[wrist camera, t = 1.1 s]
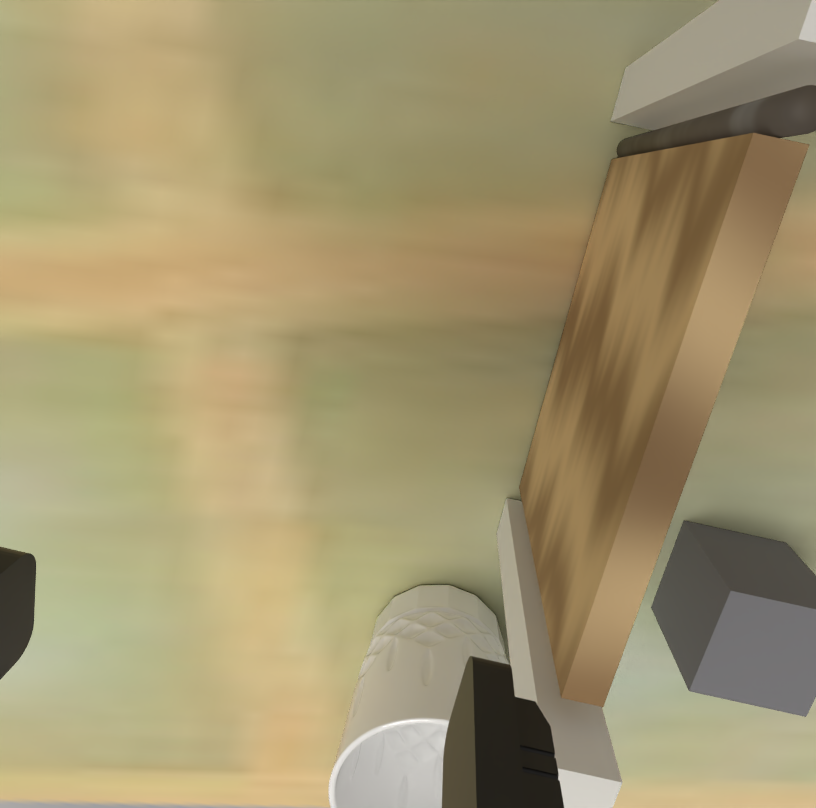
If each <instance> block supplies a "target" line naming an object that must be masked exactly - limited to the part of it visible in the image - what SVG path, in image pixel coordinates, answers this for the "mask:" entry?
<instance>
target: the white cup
mask: <svg viewBox="0 0 816 808" xmlns="http://www.w3.org/2000/svg"><path fill="white" fill-rule="evenodd" d="M470 656H474V657H478V658H483V659H487V660H492V661H496V662H500V663H505V664H509V662H508V659H507V658H506V654H505V647H504V641H503V638H502V634H501V631H500V628H499V625H498V621H497V618H496V615H495V614H494V613H493V612H492V611H491V610H490V609H489V608H488V607H487V606H486V605H485V604H484V603H483V602H482V601H481V600H480V599H479V598H478V597H477V596H476V595H474V594H471V593H469V592H466V591H463V590H461V589H458V588H456V587H453V586H451V585H419V586H417V587H415V588H413V589H410V590H408V591H406V592H404V593H402V594H399V595H397V596H395V597H394V598H393V599H392V600H391V601H390V602H389V604H388V605H387V606H386V607H385V609H384V610H383V611H382V612H381V614H380V615H379V616H378V617H377V620H376V624H375V628H374V632H373V636H372V640H371V643H370V647H369V649H368V651H367V653H366V656H365V658H364V660H363V664H362V667H361V670H360V673H359V677H358V680H357V682H356V686H355V689H354V693H353V697H352V700H351V704H350V708H349V711H348V715H347V719H346V723H345V726H344V730H343V734H342V737H341V741H340V745H339V748H338V752H337V755H336V759H335V762H334V766H333V769H332V773H331V777H330V782H329V802H330V807H331V808H442V783H443V755H444V746H445V739H446V733H447V728H448V724H449V720H450V717H451V713H452V710H453V707H454V703H455V700H456V697H457V693H458V690H459V687H460V683H461V680H462V676H463V673H464V670H465V666H466V663H467V661H468V658H469V657H470Z"/></svg>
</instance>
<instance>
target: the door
mask: <svg viewBox="0 0 816 808" xmlns="http://www.w3.org/2000/svg"><path fill="white" fill-rule="evenodd" d="M815 130H816V85H806V86H803V87H799V88H796V89H792V90H789V91H786V92H782V93H779V94H775V95H772V96H769V97H765V98H762V99H758V100H755V101H752V102H748V103H745V104H742V105H738V106H735V107H731V108H728V109H725V110H721V111H718V112H714V113H711V114H708V115H704V116H701V117H697V118H694V119H691V120H687V121H684V122H680V123H677V124H674V125H670V126H667V127H663V128H660V129H657V130H653V131H650V132H647V133H643V134H640V135H636V136H633V137H630V138H626V139H624V140H622V141H621V142H620V143H619V145H618V147H617V155H618V157H619V158H616V159H612V160H611V164H610V167H609V171H608V174H607V178H606V181H605V185H604V188H603V192H602V196H601V199H600V203H599V206H598V210H597V213H596V217H595V220H594V224H593V227H592V231H591V235H590V238H589V242H588V245H587V249H586V252H585V256H584V259H583V263H582V266H581V270H580V274H579V277H578V281H577V284H576V288H575V291H574V295H573V298H572V302H571V306H570V309H569V313H568V316H567V320H566V323H565V327H564V330H563V334H562V337H561V341H560V345H559V348H558V352H557V355H556V359H555V362H554V366H553V369H552V373H551V376H550V380H549V384H548V387H547V391H546V394H545V398H544V401H543V405H542V408H541V412H540V415H539V419H538V423H537V426H536V430H535V433H534V437H533V440H532V444H531V447H530V451H529V454H528V458H527V462H526V465H525V469H524V472H523V476H522V479H521V483H520V486H519V489H520V494H521V499H522V504H523V509H524V514H525V519H526V524H527V529H528V534H529V539H530V544H531V549H532V554H533V559H534V565H535V570H536V575H537V580H538V585H539V590H540V595H541V600H542V605H543V610H544V615H545V620H546V625H547V630H548V635H549V640H550V645H551V650H552V655H553V660H554V665H555V670H556V675H557V680H558V685H559V690H560V695H561V698H564V699H568V700H573V701H577V702H582V703H586V704H591V705H595V706H600V707H603V706H604V703H605V700H606V698H607V695H608V692H609V690H610V687H611V684H612V681H613V679H614V676H615V673H616V670H617V668H618V665H619V662H620V660H621V657H622V654H623V651H624V649H625V646H626V643H627V641H628V638H629V635H630V632H631V630H632V627H633V624H634V621H635V619H636V616H637V613H638V611H639V608H640V605H641V602H642V600H643V597H644V594H645V591H646V589H647V586H648V583H649V581H650V578H651V575H652V572H653V570H654V567H655V564H656V561H657V559H658V556H659V553H660V551H661V548H662V545H663V542H664V540H665V537H666V534H667V531H668V529H669V526H670V523H671V521H672V518H673V515H674V512H675V510H676V507H677V504H678V501H679V499H680V496H681V493H682V491H683V488H684V485H685V482H686V480H687V477H688V474H689V472H690V469H691V466H692V463H693V461H694V458H695V455H696V452H697V450H698V447H699V444H700V442H701V439H702V436H703V433H704V431H705V428H706V425H707V422H708V420H709V417H710V414H711V412H712V409H713V406H714V403H715V401H716V398H717V395H718V392H719V390H720V387H721V384H722V382H723V379H724V376H725V373H726V371H727V368H728V365H729V362H730V360H731V357H732V354H733V352H734V349H735V346H736V343H737V341H738V338H739V335H740V332H741V330H742V327H743V324H744V322H745V319H746V316H747V313H748V311H749V308H750V305H751V303H752V300H753V297H754V294H755V292H756V289H757V286H758V283H759V281H760V278H761V275H762V273H763V270H764V267H765V264H766V262H767V259H768V256H769V253H770V251H771V248H772V245H773V243H774V240H775V237H776V234H777V232H778V229H779V226H780V223H781V221H782V218H783V215H784V213H785V210H786V207H787V204H788V202H789V199H790V196H791V193H792V191H793V188H794V185H795V183H796V180H797V177H798V174H799V172H800V169H801V166H802V163H803V161H804V158H805V155H806V153H807V150H808V147H809V145H808V144H804V143H799V142H794V141H790V140H785V139H780V138H783V137H789V136H796V135H802V134H808V133H811V132H814V131H815Z"/></svg>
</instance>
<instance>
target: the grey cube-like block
mask: <svg viewBox="0 0 816 808" xmlns="http://www.w3.org/2000/svg"><path fill="white" fill-rule="evenodd" d="M651 608H652V610H653V613H654V615H655V617H656V619H657V621H658V624H659V626H660V628H661V630H662V632H663V635H664V637H665V639H666V641H667V643H668V646H669V648H670V650H671V652H672V654H673V657H674V659H675V661H676V663H677V665H678V668H679V670H680V672H681V674H682V676H683V679H684V681H685V683H686V685H687V688H688V690H689V691H691V692H696V693H700V694H705V695H709V696H714V697H718V698H723V699H728V700H732V701H737V702H741V703H746V704H750V705H755V706H759V707H764V708H768V709H773V710H777V711H782V712H786V713H791V714H796V715H800V716H805V717H806V716H807V714H808V712H809V710H810V708H811V706H812V704H813V702H814V699H815V697H816V575H815V574H814V573H813V572H812V571H811V570H810V569H809V568H808V566H807V565H806V564H805V563H804V562H803V561H802V560H801V559H800V558H799V557H798V555H797V554H796V553H795V552H794V551H793V550H792V549H791V548H790V547H789V546H788V545H787V543H785V542H780V541H776V540H771V539H766V538H762V537H757V536H753V535H748V534H744V533H739V532H734V531H730V530H725V529H721V528H716V527H712V526H707V525H702V524H698V523H693V522H689V521H683V524H682V526H681V529H680V532H679V534H678V537H677V540H676V542H675V545H674V548H673V550H672V553H671V556H670V558H669V561H668V564H667V566H666V569H665V572H664V574H663V577H662V580H661V582H660V585H659V588H658V590H657V593H656V596H655V599H654V601H653V604H652V607H651Z"/></svg>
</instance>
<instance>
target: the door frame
mask: <svg viewBox="0 0 816 808" xmlns="http://www.w3.org/2000/svg"><path fill="white" fill-rule="evenodd" d="M806 85H816V0H719V1H717V2H716V3H715V4H713V5H712V6H710V7H709V8H708V9H706V10H705V11H704V12H702V13H701V14H699V15H698V16H697V17H695V18H694V19H692V20H691V21H690V22H688V23H687V24H686V25H684V26H683V27H681V28H680V29H679V30H677V31H676V32H674V33H673V34H672V35H670V36H669V37H668V38H666V39H665V40H663V41H662V42H661V43H659V44H658V45H656V46H655V47H654V48H652V49H651V50H650V51H648V52H647V53H645V54H644V55H643V56H641V57H640V58H638V59H637V60H636V61H634V62H633V63H631V64H630V65H629V66H627V67H626V68H625V71H624V75H623V79H622V82H621V86H620V89H619V93H618V97H617V100H616V104H615V108H614V111H613V115H612V118H611V122H616V123H621V124H625V125H630V126H635V127H639V128H644V129H649V130H657V129H660V128H663V127H667V126H670V125H674V124H677V123H680V122H684V121H687V120H691V119H694V118H697V117H701V116H704V115H708V114H711V113H714V112H718V111H721V110H725V109H728V108H731V107H735V106H738V105H742V104H745V103H748V102H752V101H755V100H758V99H762V98H765V97H769V96H772V95H775V94H779V93H782V92H786V91H789V90H792V89H796V88H799V87H803V86H806ZM497 543H498V553H499V562H500V572H501V581H502V590H503V600H504V609H505V618H506V628H507V637H508V647H509V656H510V665H511V668H512V675H513V684H514V693H515V697H518V698H523V699H527V700H531V701H535V702H536V703H537V705H538V707H539V708H540V710H541V712H542V713H543V715H544V716H545V718H546V720H547V721H548V723H549V725H550V726H551V731H552V737H553V743H554V749H555V758H556V762H557V768H558V774H559V776H558V780H559V781H560V786H561V792H562V798H563V804H564V808H613V805H614V803H615V800H616V797H617V795H618V792H619V790H620V787H621V785H622V779H621V776H620V772H619V768H618V765H617V761H616V757H615V754H614V750H613V746H612V743H611V739H610V735H609V732H608V728H607V725H606V721H605V717H604V714H603V710H602V707H600V706H595V705H591V704H586V703H582V702H577V701H573V700H568V699H564V698H561V695H560V690H559V685H558V680H557V675H556V670H555V665H554V660H553V655H552V650H551V645H550V640H549V635H548V630H547V625H546V620H545V615H544V610H543V605H542V600H541V595H540V590H539V585H538V580H537V575H536V570H535V565H534V559H533V554H532V549H531V544H530V539H529V534H528V529H527V524H526V519H525V514H524V509H523V504H522V501H519V500H514V499H509V498H506V501H505V505H504V508H503V512H502V516H501V519H500V523H499V526H498V530H497Z"/></svg>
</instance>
